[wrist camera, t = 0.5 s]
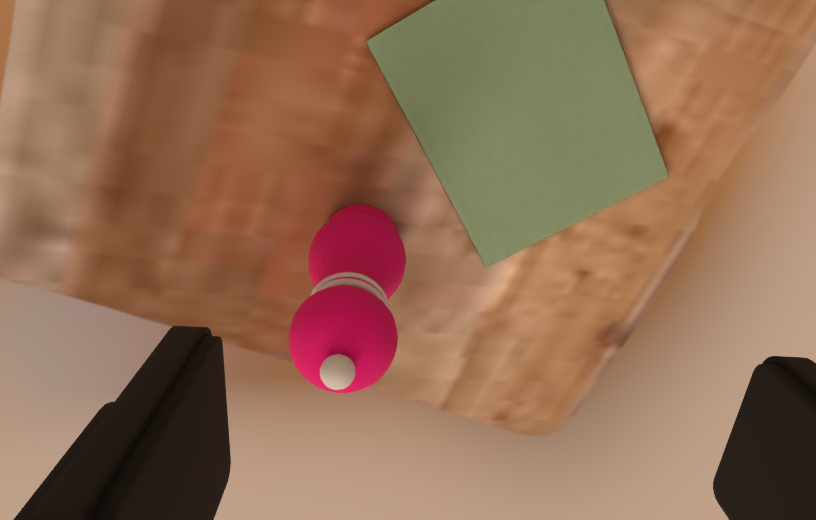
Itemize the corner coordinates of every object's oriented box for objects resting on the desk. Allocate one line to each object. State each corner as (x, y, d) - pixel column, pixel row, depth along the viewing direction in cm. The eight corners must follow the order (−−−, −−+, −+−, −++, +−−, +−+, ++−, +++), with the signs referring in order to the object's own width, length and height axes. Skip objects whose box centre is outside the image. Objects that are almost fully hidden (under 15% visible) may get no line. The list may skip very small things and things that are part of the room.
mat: (366, 41, 40) (365, 41, 39) (572, -82, 37) (574, -83, 37) (485, 265, 46) (486, 267, 46) (667, 175, 44) (669, 176, 43)
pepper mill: (422, 228, 45) (439, 364, 27) (374, 295, 47) (359, 462, 29) (346, 180, 44) (309, 289, 25) (301, 251, 46) (234, 399, 27)
